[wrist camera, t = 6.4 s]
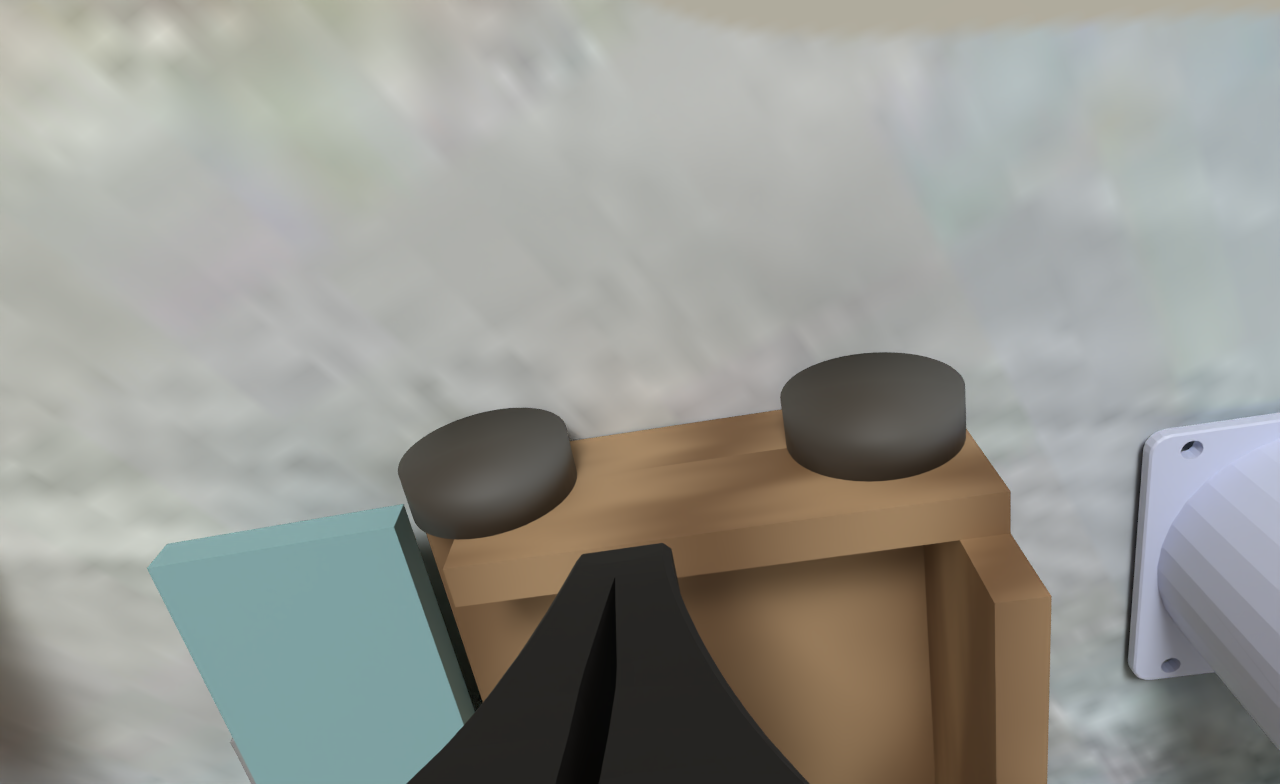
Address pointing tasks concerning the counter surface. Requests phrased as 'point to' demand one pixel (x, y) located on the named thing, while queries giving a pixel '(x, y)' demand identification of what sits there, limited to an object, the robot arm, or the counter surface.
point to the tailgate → (319, 646)
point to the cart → (779, 563)
